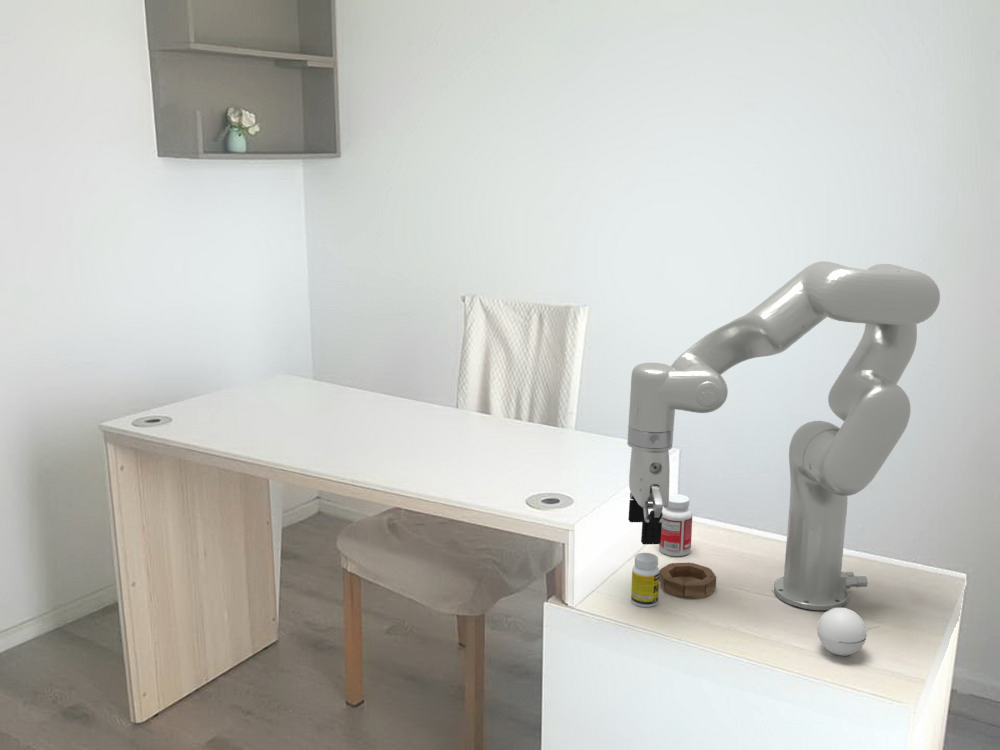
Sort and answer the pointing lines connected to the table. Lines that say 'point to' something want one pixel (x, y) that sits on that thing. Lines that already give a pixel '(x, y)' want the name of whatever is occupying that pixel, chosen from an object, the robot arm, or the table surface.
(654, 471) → the robot arm
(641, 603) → the supplement bottle
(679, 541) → the pill bottle
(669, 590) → the holder
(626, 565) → the table surface
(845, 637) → the white sphere
